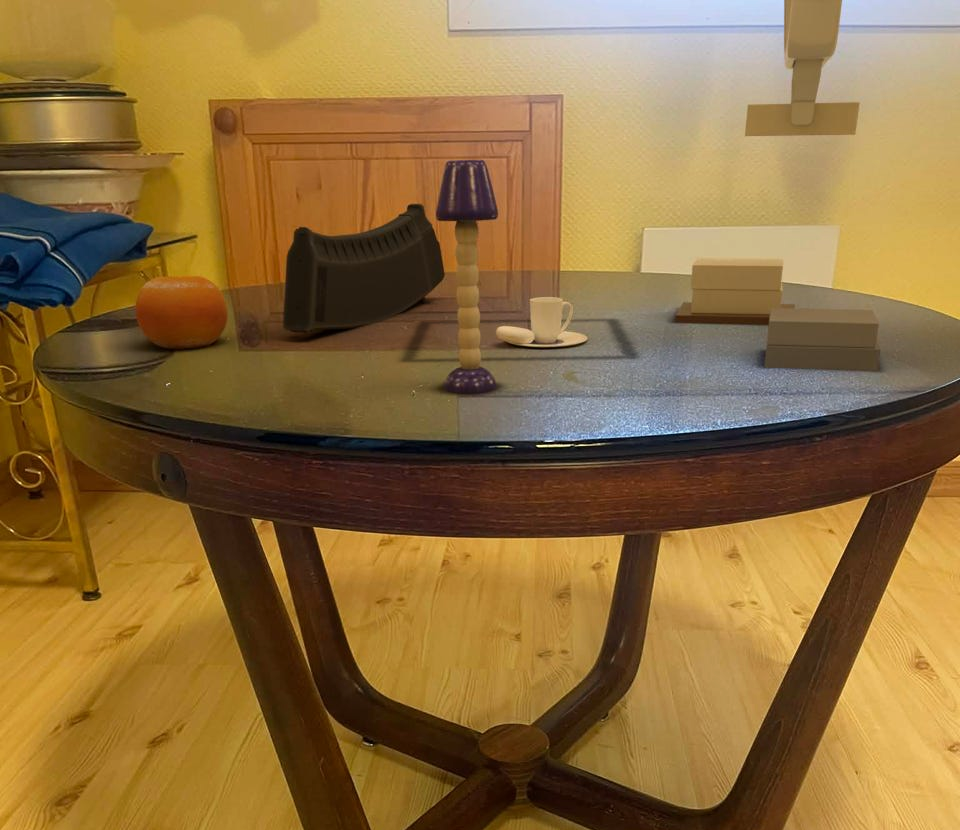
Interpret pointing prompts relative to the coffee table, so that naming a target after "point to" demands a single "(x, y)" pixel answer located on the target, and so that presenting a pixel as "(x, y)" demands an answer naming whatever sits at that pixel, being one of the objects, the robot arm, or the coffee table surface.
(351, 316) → the magazine
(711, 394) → the coffee table surface
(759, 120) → the tan flat block
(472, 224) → the toy lamp
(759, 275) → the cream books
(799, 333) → the brown rectangular block
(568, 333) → the teacup and saucer
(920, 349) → the coffee table surface
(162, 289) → the fruit
